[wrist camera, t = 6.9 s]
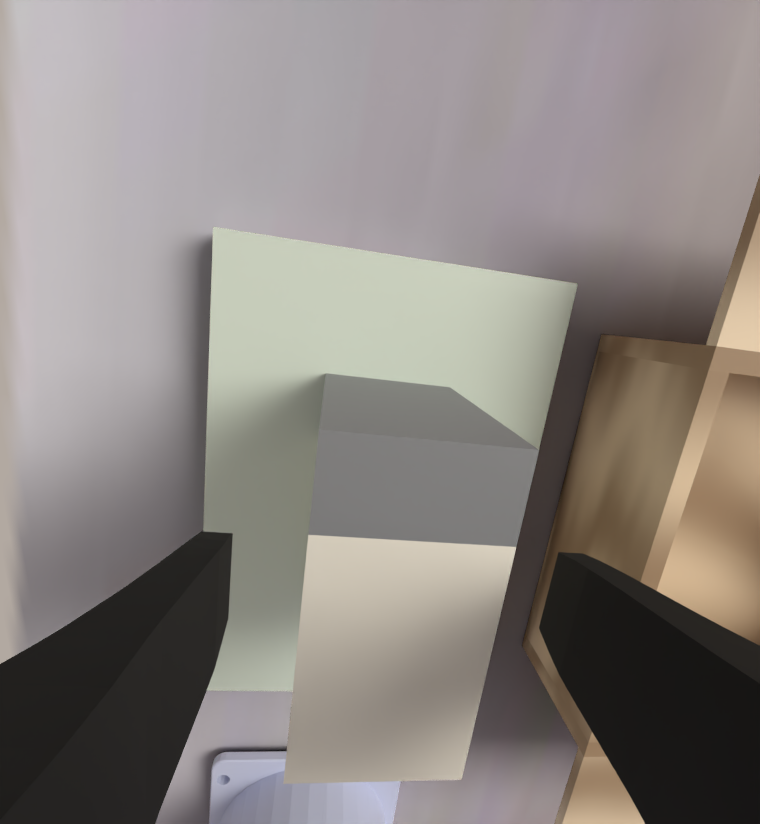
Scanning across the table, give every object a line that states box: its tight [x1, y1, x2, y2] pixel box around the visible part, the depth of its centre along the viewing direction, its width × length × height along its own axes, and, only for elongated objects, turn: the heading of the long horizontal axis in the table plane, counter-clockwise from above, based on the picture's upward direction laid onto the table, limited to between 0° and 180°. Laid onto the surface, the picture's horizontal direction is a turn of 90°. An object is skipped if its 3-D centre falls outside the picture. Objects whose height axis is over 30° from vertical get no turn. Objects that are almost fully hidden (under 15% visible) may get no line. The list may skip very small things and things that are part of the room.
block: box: [283, 373, 539, 784], centre depth 11 cm, size 8×4×6 cm, turn 173°
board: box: [203, 227, 578, 691], centre depth 14 cm, size 16×11×1 cm
